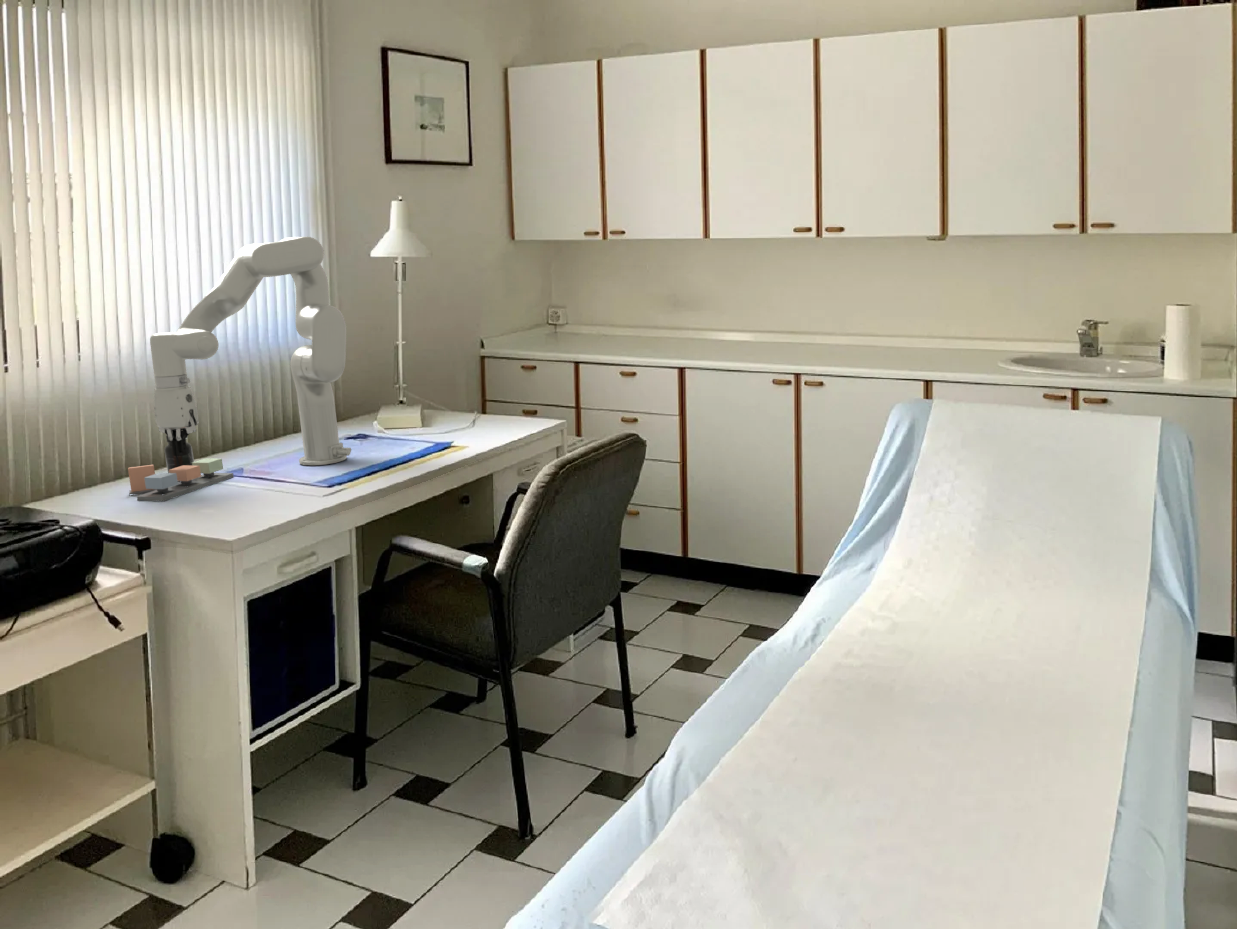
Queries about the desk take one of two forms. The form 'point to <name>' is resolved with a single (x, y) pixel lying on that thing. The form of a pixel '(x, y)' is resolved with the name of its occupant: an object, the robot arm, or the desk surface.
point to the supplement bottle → (177, 460)
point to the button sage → (209, 465)
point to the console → (185, 487)
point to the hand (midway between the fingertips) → (180, 455)
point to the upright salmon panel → (140, 478)
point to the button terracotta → (186, 473)
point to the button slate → (161, 481)
